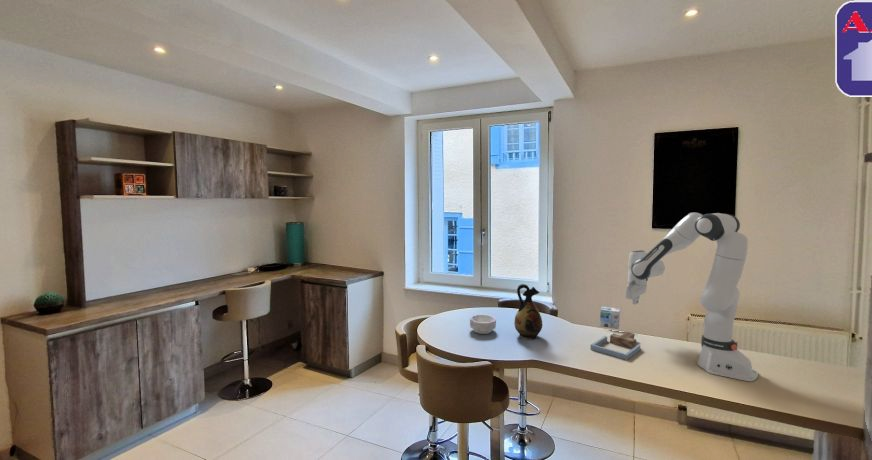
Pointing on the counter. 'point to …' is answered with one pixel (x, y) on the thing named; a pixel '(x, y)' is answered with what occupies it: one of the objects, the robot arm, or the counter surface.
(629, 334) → the walnut T block
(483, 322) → the white stone bowl
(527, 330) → the ceramic jug
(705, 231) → the robot arm
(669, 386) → the counter surface
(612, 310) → the light bulb box
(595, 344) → the docking bay
